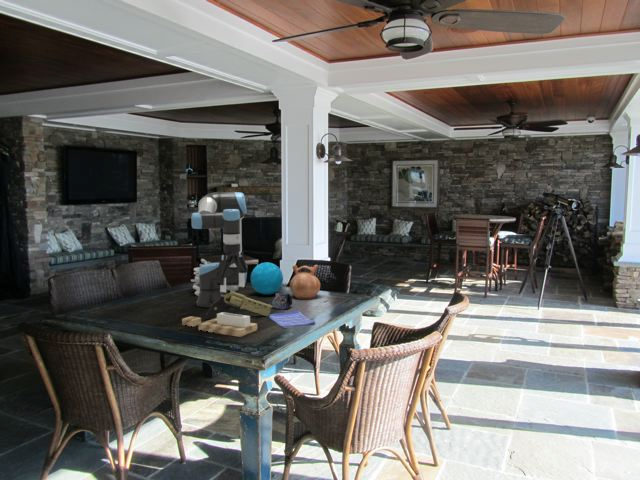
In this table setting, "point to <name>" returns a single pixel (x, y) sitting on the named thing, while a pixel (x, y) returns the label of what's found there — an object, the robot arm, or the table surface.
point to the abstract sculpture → (230, 288)
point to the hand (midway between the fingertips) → (232, 289)
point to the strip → (233, 319)
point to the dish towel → (291, 319)
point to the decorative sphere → (266, 278)
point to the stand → (191, 321)
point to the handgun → (237, 305)
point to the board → (226, 328)
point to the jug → (304, 283)
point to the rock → (282, 301)
